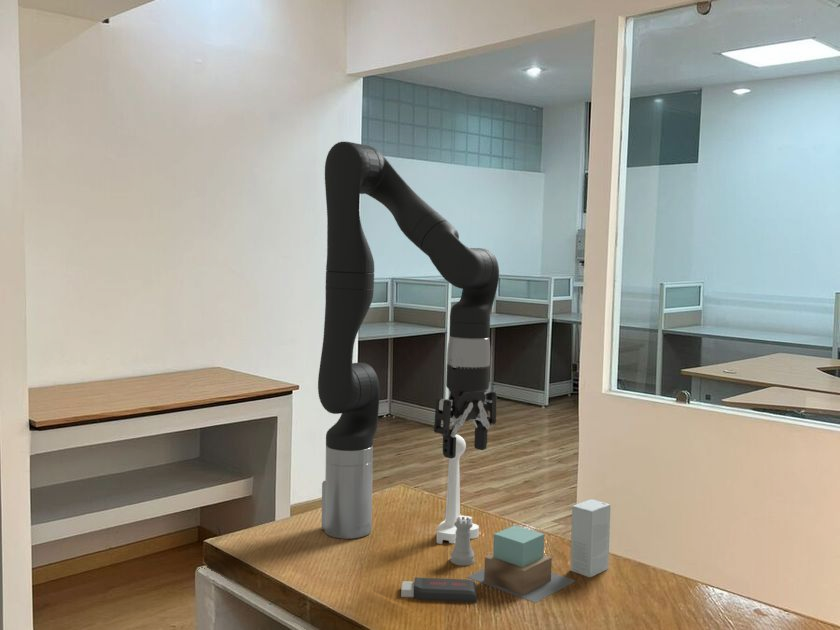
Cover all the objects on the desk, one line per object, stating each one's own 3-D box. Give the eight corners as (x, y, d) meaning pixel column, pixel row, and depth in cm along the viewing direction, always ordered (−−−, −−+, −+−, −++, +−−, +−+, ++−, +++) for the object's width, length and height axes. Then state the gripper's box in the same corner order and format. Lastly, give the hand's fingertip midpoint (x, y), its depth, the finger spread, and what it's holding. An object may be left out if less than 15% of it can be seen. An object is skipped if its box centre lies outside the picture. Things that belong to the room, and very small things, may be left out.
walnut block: (484, 580, 131) (484, 557, 130) (512, 567, 137) (513, 544, 136) (523, 594, 125) (524, 570, 125) (550, 580, 131) (551, 557, 131)
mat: (466, 579, 132) (466, 576, 132) (508, 559, 141) (508, 557, 141) (535, 605, 123) (535, 602, 123) (575, 583, 131) (575, 580, 131)
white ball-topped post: (451, 524, 159) (453, 427, 158) (486, 530, 156) (489, 431, 155) (431, 542, 149) (433, 439, 147) (468, 548, 146) (471, 443, 144)
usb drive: (476, 607, 122) (477, 590, 122) (400, 604, 123) (401, 587, 123) (475, 593, 128) (476, 576, 127) (402, 590, 128) (403, 574, 128)
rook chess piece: (473, 568, 136) (474, 524, 136) (448, 566, 137) (449, 522, 137) (476, 559, 141) (477, 516, 140) (452, 557, 142) (453, 514, 141)
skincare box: (588, 563, 140) (590, 498, 139) (609, 570, 137) (611, 504, 136) (568, 572, 136) (571, 505, 135) (589, 580, 133) (592, 511, 132)
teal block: (493, 557, 130) (493, 533, 130) (514, 547, 135) (515, 525, 135) (522, 567, 126) (523, 543, 126) (543, 557, 131) (544, 534, 130)
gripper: (477, 356, 144) (473, 442, 145) (425, 363, 134) (422, 455, 135) (510, 361, 139) (506, 450, 140) (458, 368, 128) (455, 464, 130)
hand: (465, 453), depth 137 cm, fingers open, 8 cm apart
